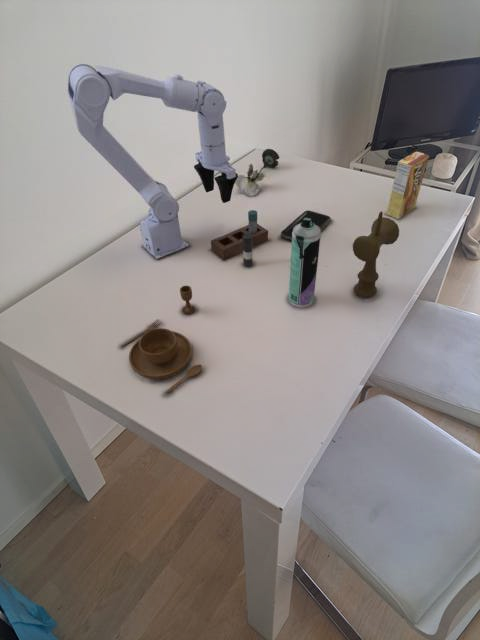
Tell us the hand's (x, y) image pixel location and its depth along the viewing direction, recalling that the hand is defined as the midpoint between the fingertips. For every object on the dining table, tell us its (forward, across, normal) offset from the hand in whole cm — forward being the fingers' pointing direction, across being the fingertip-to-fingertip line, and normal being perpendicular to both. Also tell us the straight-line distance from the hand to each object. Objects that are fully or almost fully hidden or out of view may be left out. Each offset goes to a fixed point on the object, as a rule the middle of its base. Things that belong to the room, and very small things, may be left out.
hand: (217, 196), depth 110 cm
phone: (+11, -14, -18) cm, 25 cm away
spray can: (+11, -35, +3) cm, 37 cm away
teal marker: (+10, -9, -4) cm, 14 cm away
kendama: (+11, -42, -10) cm, 44 cm away
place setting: (+10, -30, +32) cm, 45 cm away
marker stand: (+10, -9, 0) cm, 14 cm away
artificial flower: (+11, +17, -27) cm, 34 cm away
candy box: (+12, -24, -45) cm, 52 cm away
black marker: (+10, -17, +4) cm, 20 cm away
